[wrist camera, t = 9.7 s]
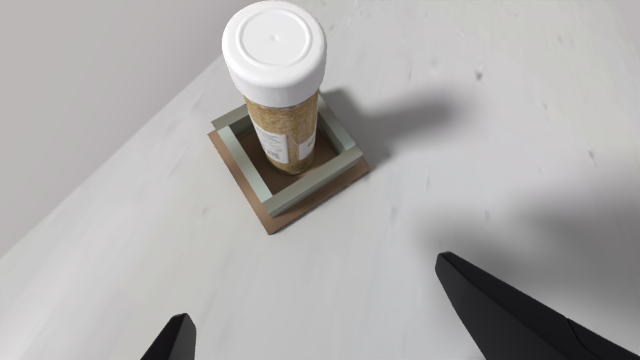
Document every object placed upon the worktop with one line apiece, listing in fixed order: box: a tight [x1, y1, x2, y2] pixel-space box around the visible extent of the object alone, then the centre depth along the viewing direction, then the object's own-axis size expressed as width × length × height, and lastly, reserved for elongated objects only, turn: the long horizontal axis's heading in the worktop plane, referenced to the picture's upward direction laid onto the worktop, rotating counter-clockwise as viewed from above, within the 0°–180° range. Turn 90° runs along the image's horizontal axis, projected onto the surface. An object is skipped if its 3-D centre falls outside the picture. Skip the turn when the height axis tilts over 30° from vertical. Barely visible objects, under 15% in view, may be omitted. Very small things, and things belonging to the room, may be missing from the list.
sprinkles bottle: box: [222, 0, 327, 175], centre depth 17 cm, size 5×5×14 cm
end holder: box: [207, 93, 371, 235], centre depth 23 cm, size 11×11×4 cm
